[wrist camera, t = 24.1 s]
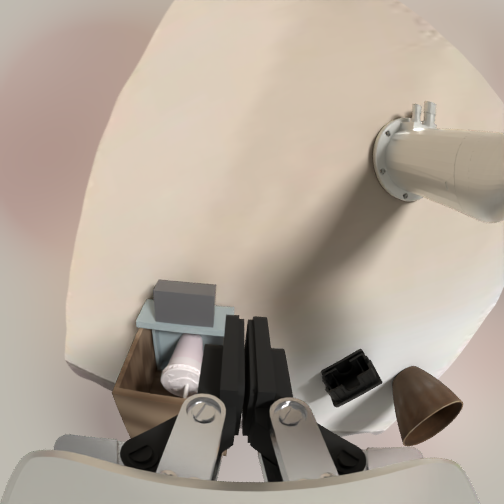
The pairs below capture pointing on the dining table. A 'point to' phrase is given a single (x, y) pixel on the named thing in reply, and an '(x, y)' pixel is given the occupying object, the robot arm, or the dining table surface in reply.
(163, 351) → the tray
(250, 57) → the dining table surface
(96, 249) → the dining table surface
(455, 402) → the plant pot
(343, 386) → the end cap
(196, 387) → the smoothie
